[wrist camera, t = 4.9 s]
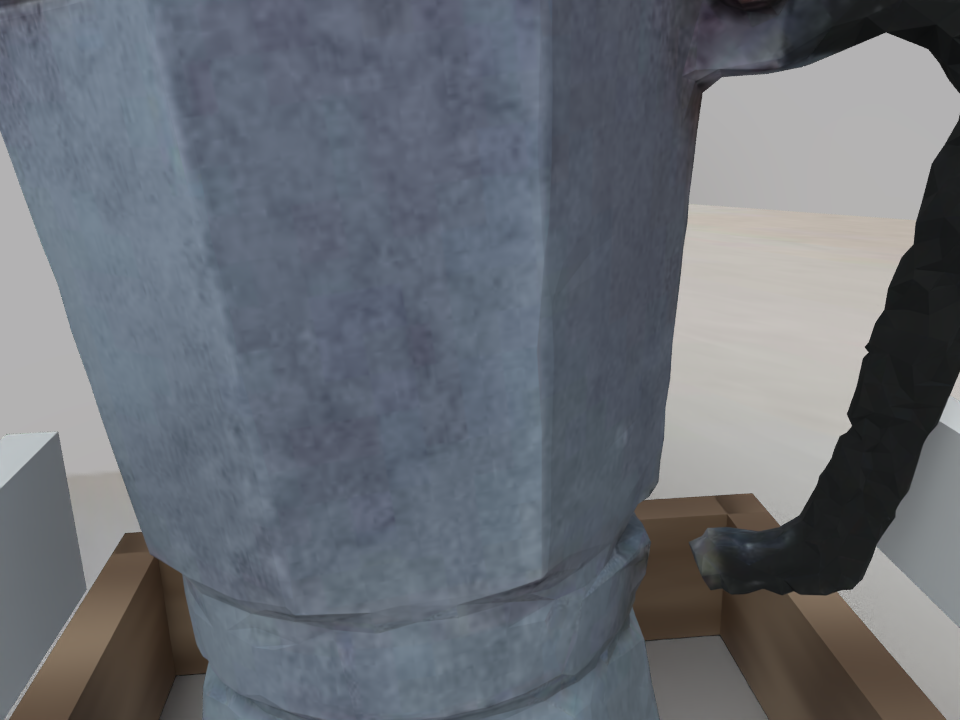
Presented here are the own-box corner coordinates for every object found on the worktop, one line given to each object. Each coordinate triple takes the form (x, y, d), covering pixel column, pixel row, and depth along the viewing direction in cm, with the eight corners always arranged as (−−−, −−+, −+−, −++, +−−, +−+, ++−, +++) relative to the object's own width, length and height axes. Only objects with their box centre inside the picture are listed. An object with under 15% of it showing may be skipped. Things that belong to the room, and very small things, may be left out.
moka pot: (222, 739, 23) (105, -123, 17) (855, 815, 20) (976, -194, 14) (-54, 1157, 14) (-498, -343, 8) (1011, 1403, 11) (1511, -653, 5)
